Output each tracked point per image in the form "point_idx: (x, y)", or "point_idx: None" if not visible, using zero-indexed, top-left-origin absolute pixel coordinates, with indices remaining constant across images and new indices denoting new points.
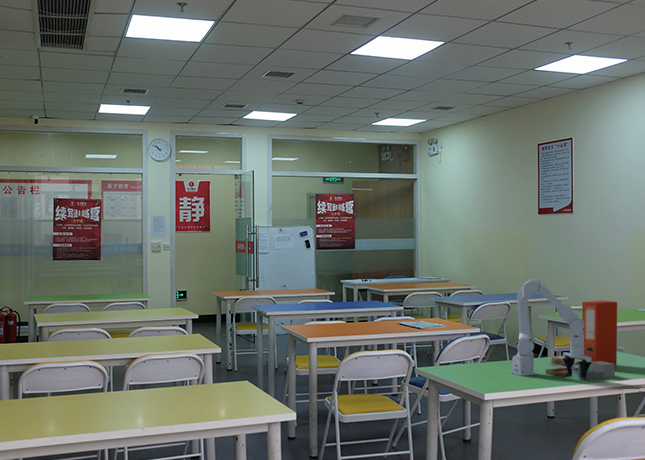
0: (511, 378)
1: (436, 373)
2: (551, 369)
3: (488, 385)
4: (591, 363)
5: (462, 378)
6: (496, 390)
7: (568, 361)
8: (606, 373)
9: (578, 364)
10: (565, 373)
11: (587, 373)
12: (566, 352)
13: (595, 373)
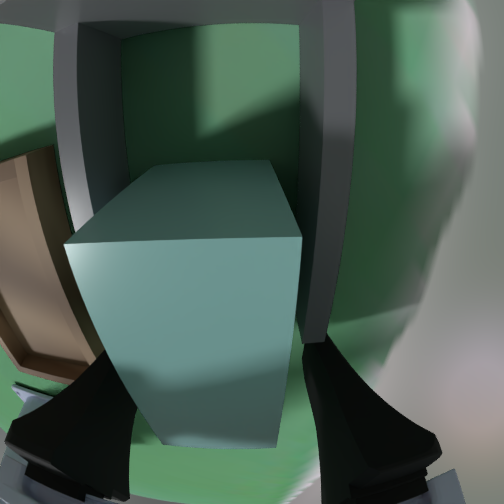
0: (149, 469)
1: None
2: (4, 341)
3: (223, 499)
4: (20, 5)
5: (141, 491)
6: (272, 500)
7: (118, 469)
8: None
9: (132, 392)
10: (94, 341)
11: (326, 325)
12: (3, 499)
13: (344, 178)
